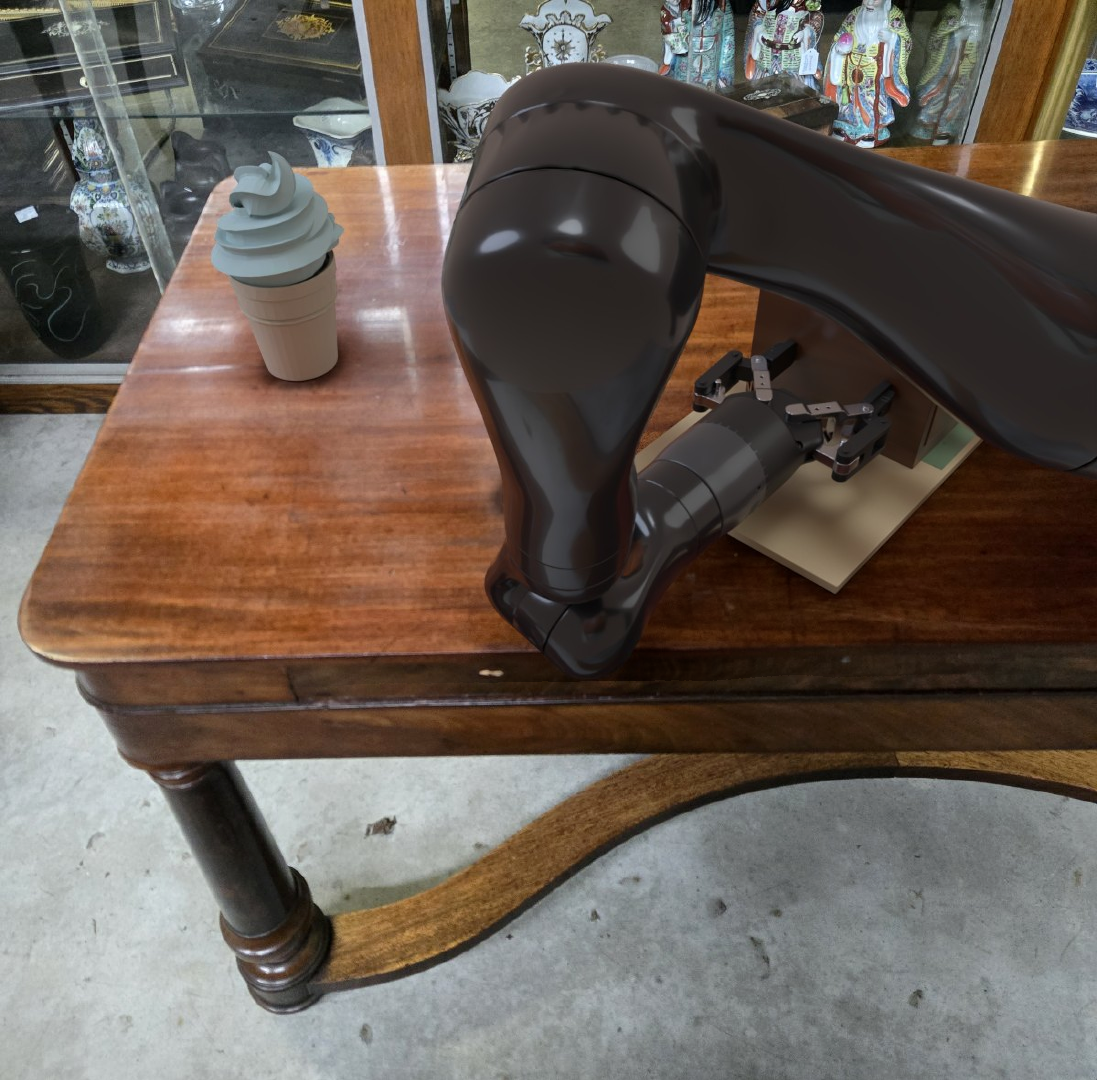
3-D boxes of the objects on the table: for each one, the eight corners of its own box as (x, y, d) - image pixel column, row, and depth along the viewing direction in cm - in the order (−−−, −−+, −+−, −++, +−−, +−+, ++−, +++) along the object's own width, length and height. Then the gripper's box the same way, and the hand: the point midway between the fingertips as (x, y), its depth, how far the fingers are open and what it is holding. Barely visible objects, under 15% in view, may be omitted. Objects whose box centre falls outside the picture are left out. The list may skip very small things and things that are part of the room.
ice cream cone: (247, 336, 99) (194, 129, 85) (364, 328, 100) (330, 121, 86) (235, 399, 92) (174, 185, 78) (361, 390, 93) (323, 176, 79)
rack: (912, 469, 83) (948, 347, 75) (745, 390, 90) (761, 272, 82) (970, 411, 88) (1010, 292, 80) (807, 341, 96) (828, 226, 88)
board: (835, 594, 74) (837, 586, 74) (619, 473, 84) (620, 466, 84) (1009, 414, 89) (1011, 406, 88) (808, 329, 99) (809, 321, 98)
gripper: (814, 474, 68) (932, 364, 76) (642, 389, 75) (768, 297, 83) (796, 555, 73) (909, 444, 82) (638, 468, 80) (757, 374, 88)
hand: (838, 370), depth 82 cm, fingers open, 8 cm apart
